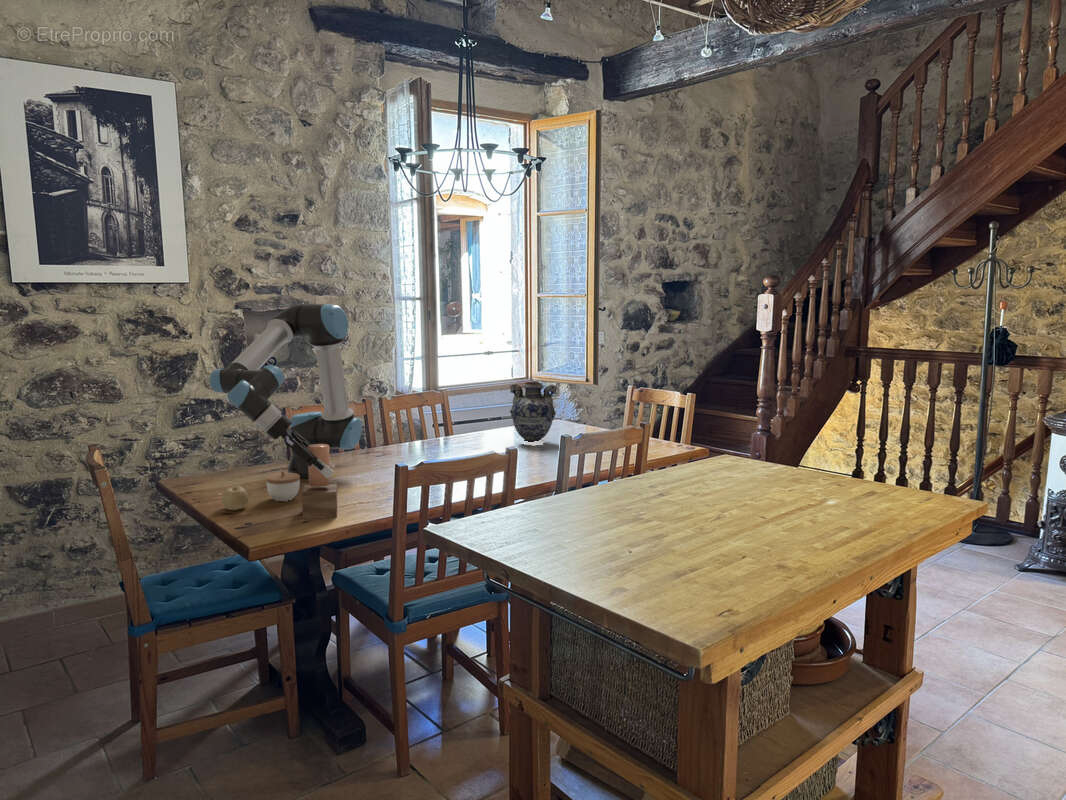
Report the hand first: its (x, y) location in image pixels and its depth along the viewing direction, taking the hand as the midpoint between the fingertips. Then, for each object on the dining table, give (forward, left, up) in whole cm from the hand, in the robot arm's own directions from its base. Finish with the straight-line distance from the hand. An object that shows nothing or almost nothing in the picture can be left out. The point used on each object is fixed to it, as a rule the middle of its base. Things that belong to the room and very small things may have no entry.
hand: (331, 472), depth 233 cm
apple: (-11, -30, -13) cm, 34 cm away
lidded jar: (-19, -16, -13) cm, 28 cm away
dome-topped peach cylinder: (0, -4, -3) cm, 5 cm away
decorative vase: (-90, +86, -13) cm, 125 cm away
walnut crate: (0, -4, -13) cm, 13 cm away
